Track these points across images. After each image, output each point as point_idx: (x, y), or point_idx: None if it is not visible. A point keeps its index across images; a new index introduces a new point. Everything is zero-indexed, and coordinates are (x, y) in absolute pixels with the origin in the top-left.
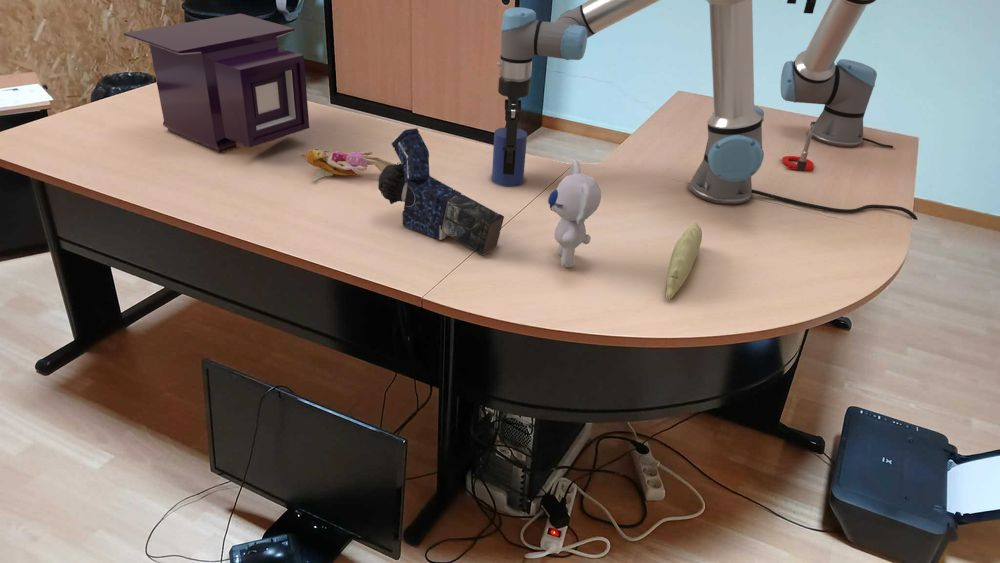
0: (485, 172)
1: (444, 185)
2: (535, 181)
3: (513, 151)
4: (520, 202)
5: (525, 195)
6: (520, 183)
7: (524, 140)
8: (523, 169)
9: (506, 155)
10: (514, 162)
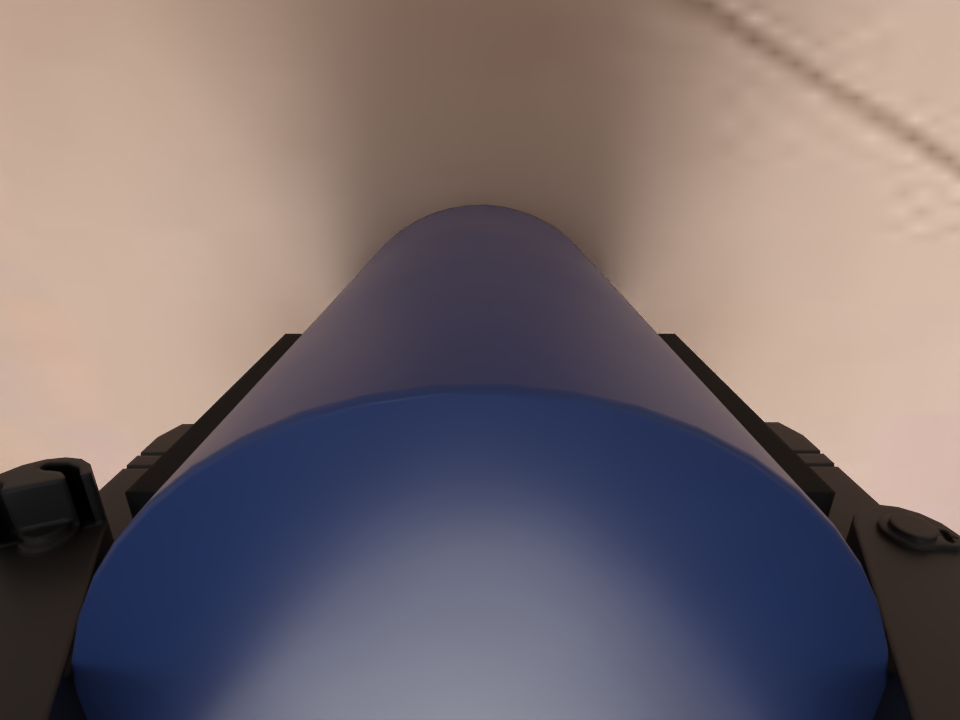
0: None
1: None
2: (479, 83)
3: None
4: (914, 236)
5: (784, 190)
6: (561, 233)
7: (717, 410)
8: (542, 234)
9: None
10: (731, 393)
